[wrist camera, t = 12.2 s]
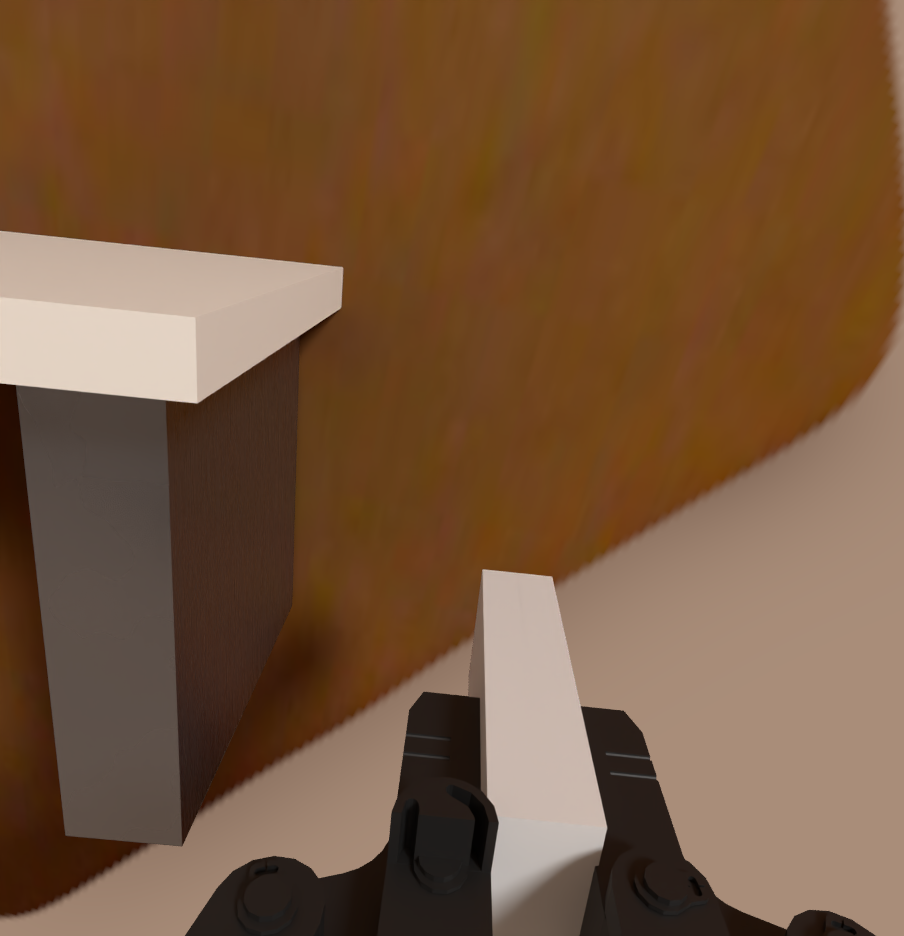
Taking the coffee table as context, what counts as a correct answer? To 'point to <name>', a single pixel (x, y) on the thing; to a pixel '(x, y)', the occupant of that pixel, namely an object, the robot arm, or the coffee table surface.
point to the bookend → (158, 584)
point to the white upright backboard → (148, 315)
